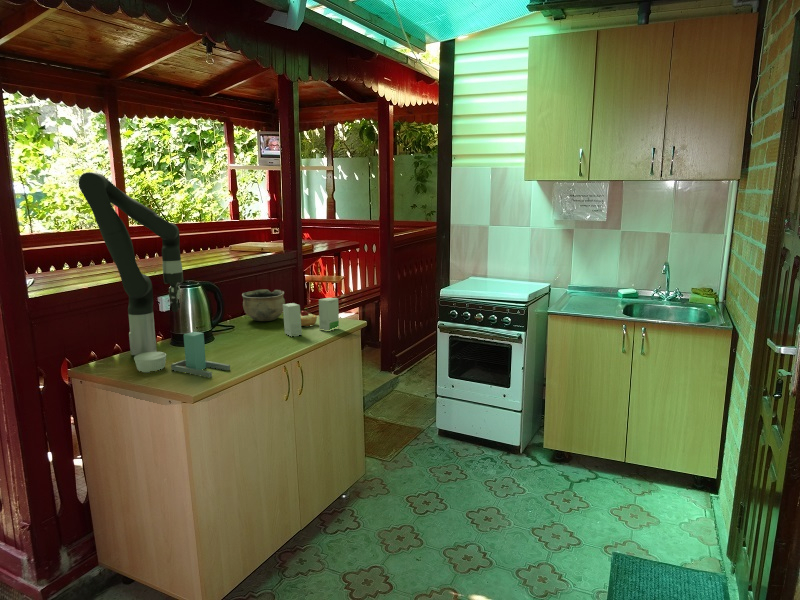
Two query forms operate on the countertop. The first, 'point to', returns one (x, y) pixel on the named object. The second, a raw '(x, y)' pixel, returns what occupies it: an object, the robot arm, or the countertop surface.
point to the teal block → (195, 350)
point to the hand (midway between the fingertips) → (176, 309)
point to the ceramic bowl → (263, 304)
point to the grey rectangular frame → (182, 368)
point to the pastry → (307, 318)
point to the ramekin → (150, 361)
